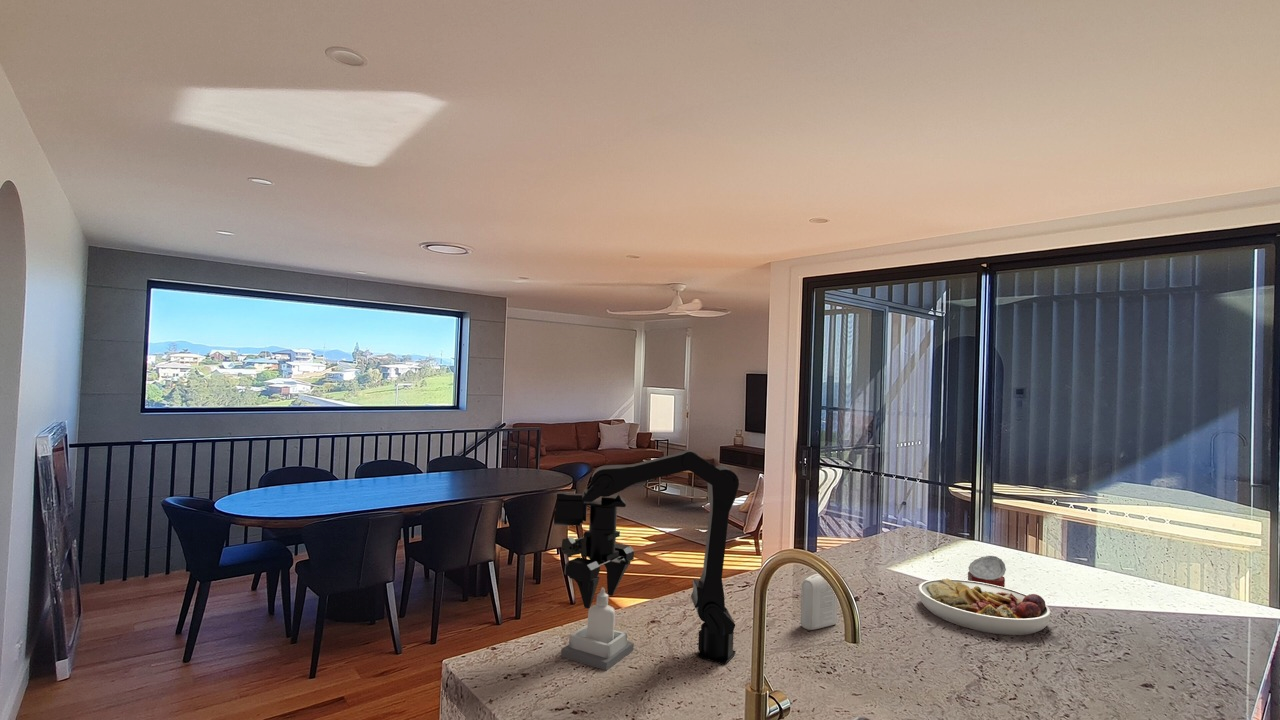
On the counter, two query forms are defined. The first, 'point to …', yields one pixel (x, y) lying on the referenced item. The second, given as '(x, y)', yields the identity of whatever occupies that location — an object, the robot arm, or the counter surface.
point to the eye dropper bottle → (601, 619)
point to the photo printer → (817, 603)
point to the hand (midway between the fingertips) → (599, 601)
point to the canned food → (987, 571)
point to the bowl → (985, 606)
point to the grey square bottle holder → (596, 649)
